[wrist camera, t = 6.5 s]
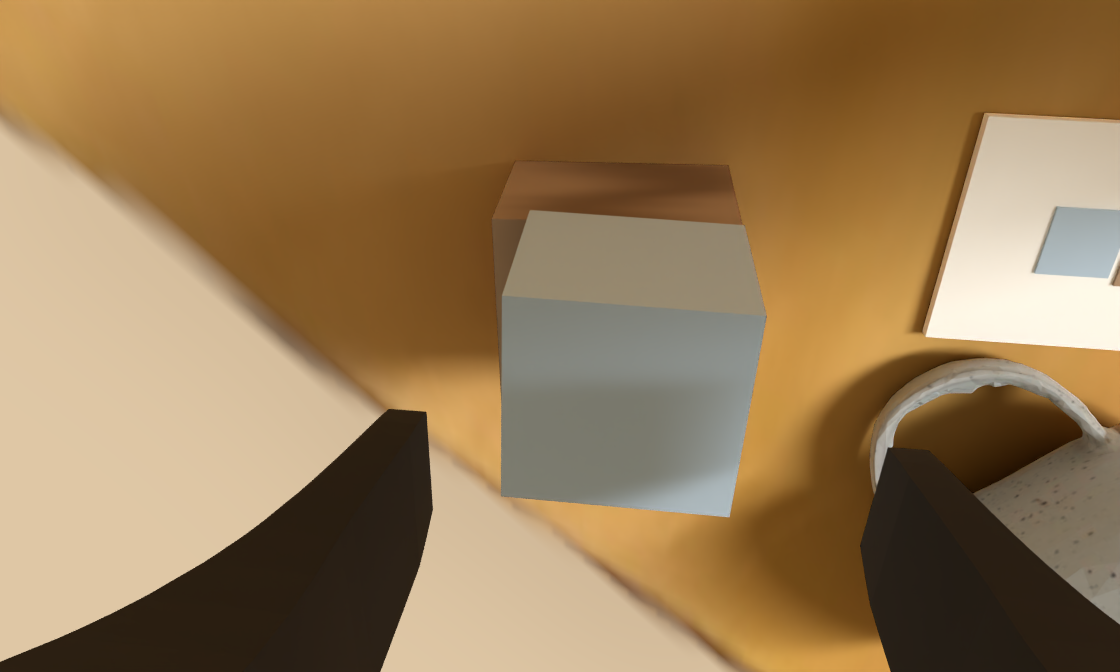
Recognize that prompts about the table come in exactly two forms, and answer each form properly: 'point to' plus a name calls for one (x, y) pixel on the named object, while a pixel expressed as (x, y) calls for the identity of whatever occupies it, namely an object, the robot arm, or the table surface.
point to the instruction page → (1035, 237)
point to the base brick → (605, 200)
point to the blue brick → (628, 361)
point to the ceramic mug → (1039, 478)
